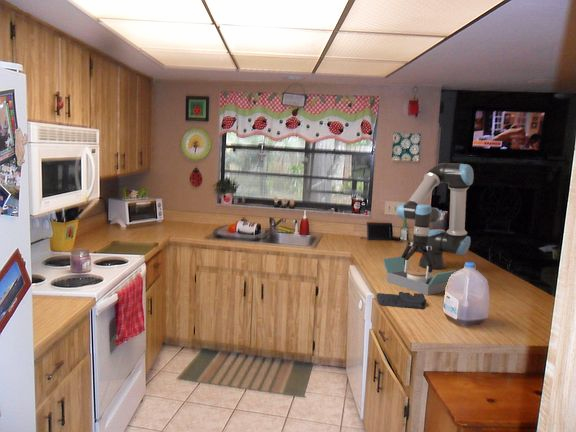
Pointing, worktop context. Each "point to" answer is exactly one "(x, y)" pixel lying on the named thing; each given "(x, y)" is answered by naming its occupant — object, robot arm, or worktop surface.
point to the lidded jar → (417, 275)
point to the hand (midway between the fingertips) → (417, 275)
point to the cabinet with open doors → (400, 278)
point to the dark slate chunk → (402, 300)
